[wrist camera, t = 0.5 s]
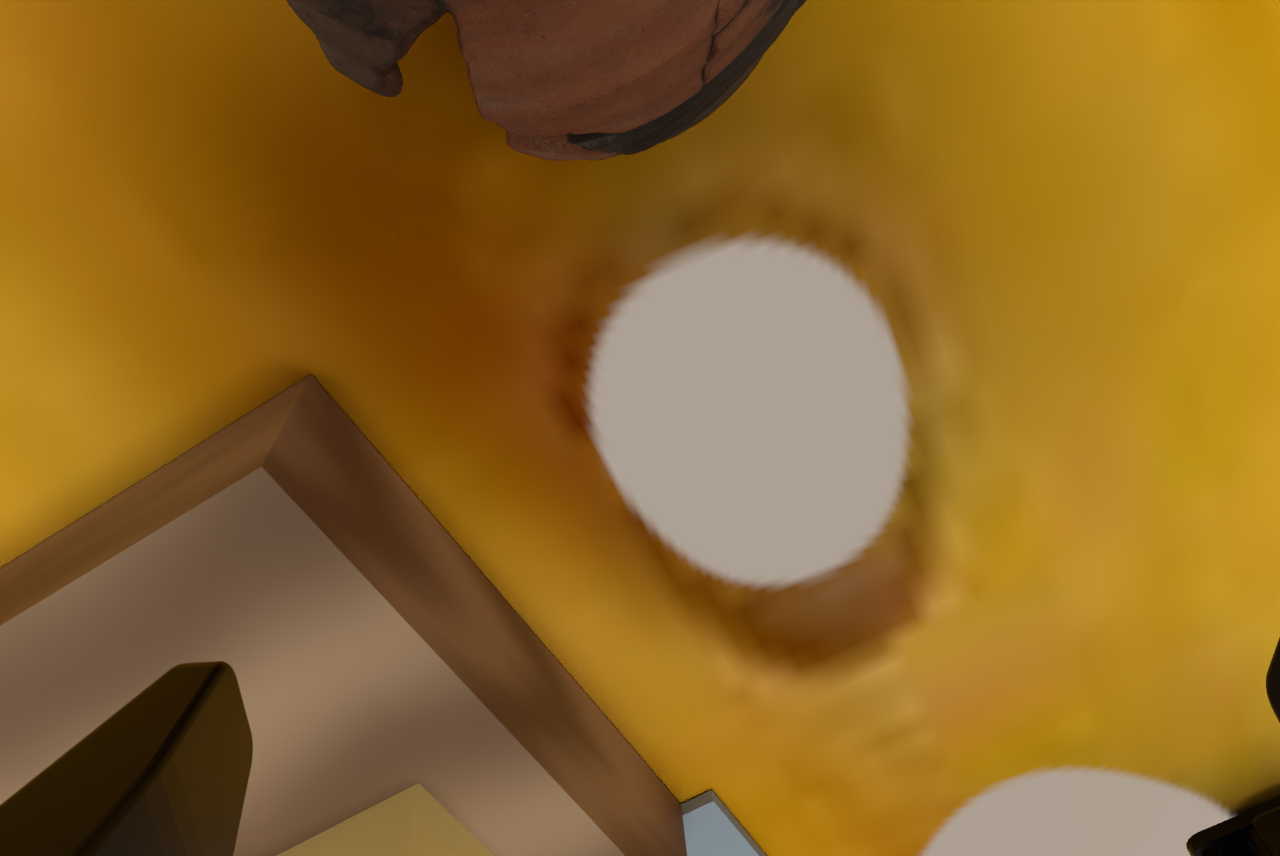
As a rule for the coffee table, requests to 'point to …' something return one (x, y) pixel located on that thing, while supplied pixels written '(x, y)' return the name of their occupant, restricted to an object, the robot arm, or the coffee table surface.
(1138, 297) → the coffee table surface
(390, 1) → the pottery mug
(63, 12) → the coffee table surface
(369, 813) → the bevelled yellow tile
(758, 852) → the mat
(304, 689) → the deck
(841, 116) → the coffee table surface
